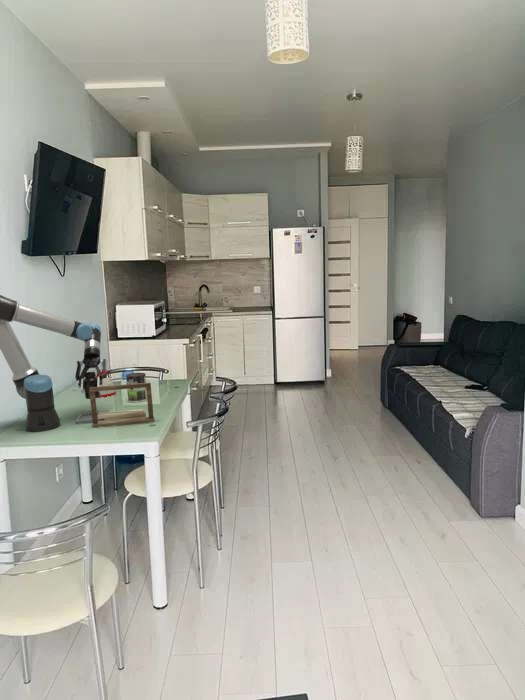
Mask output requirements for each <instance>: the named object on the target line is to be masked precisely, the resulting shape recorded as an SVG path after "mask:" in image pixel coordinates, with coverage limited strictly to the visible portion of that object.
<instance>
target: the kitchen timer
mask: <svg viewBox="0 0 525 700" xmlns="http://www.w3.org/2000/svg"><path fill="white" fill-rule="evenodd" d="M99 370H100V372H101V375H103V368H102V369H100V368H99ZM109 372H110V371H109V370H106V375H107V378H104V379H103V383H102V385H100V387H102V386H114V385H115V384H114V383H113V380H112V379H111V378H110V377H109ZM95 377H96V378H98V377H99V375H98V373H97V372H96V376H95ZM114 394H115V395H116V394H117V390H106V391H100V397H98V398H97V399H102V398H101V397H104V398H108V397H107V396H110V397H112V396H111V395H114ZM115 395H114V396H115Z"/></svg>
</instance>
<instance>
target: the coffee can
mask: <svg viewBox="0 0 525 700" xmlns="http://www.w3.org/2000/svg"><path fill="white" fill-rule="evenodd" d="M146 375H147V374H146V373H145V372H133V373H127V374H126V375H125V377H126V379H125V380H126V384H139V383H147V379H146V378H147V376H146ZM126 390H127V399H128V401H127V402H128V403H141V402H140V401H142V402H145V401H144V400H146V401H147V391H146V387H142V388H130V389H126Z"/></svg>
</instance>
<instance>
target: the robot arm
mask: <svg viewBox="0 0 525 700" xmlns="http://www.w3.org/2000/svg"><path fill="white" fill-rule="evenodd" d="M12 322H18V323H21V324H25V325H28V326H32V327H36V328H38V329H42V330H46V331H50V332H53V333H58V334H60V335H64V336H66V337H70V338H73V339H76V340H80V341H82V342H84V348H83V349H84V351H83V359H82V360H81V361H79V360H78V361H76V365H77V366H76V369H75V370H76V372H75V380H76V381H78V386H79V387H80V391H81V392H80V393H81V394H85V392H84V384H83V380H84V379H85V373H87V372H89V370H90V369H95V370H96V374H97V373H98V375H99V377H98V383H97V387H100V385H102V383H103V379H104V378H107V377H108V375H106V372H107V369H106V368H107V367H106V365H107V359H106V358H103V359H101V340H102V339H101V337H102V330H101V326H100V325H99V324H98V323H84V322H79V321H77V320H73V319H70V318H67V317H63V316H59V315H56V314H53V313H50V312H46V311H44V310H39V309H37V308H33V307H29V306H27V305H23V304H19V302H18V301H17V300H14V299H12V298H8V297H6V296H5V295H1V294H0V351H1V353H2V355H3V357H4V359H5V361H6V363H7V365H8V367H9V368H10V370H11V373H12V374H13V375H12V378H11V379H12V381H13V384H14V386H15V391H16V392H17V394H18V395H19V397H21V398H22V399H24V400H25V402H26V411H27V414H26V420H25V424H24V429H26V430H28V431H27V432H32V431H36V432H43V431H50V430H53V429H56V428H58V427H60V426H61V424H62V423H61V419H60V417H59V415H58V412H57V411H56V406H55V399H54V389H53V381H52V377H50V376H49V375H46V374H40V373H39V371H38V368H36V367H34V366H32V364H31V363H30V360H29V359H28V356H27V355H26V353H25V351H24V349H23V347H22V345H21V343H20V341H19V339H18V337H17V335H16V334H15V332H14V329H13V327H12V326H11V324H10V323H12ZM100 363H101V366H102V369H103V375H101V373H102V371H101V369H100V368H99V365H100ZM83 365H84V366H83ZM82 367H83V368H82ZM99 369H100V370H99ZM100 371H101V372H100ZM98 392H100V391H98ZM26 430H25V431H26Z"/></svg>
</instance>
